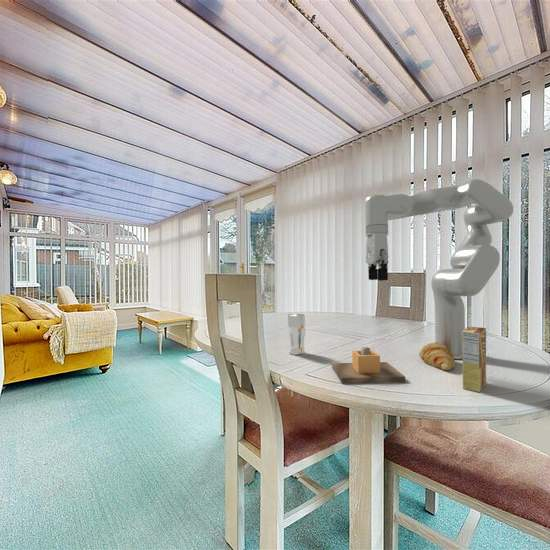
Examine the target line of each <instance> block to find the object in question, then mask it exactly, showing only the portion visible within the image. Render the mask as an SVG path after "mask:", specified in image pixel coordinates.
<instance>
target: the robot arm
mask: <svg viewBox="0 0 550 550" xmlns="http://www.w3.org/2000/svg"><path fill="white" fill-rule="evenodd" d="M364 202H365V203H364V205H365V207H364V211H365V214H364V215H365V219H364V220H365V236H366V244H365V263H366V264H367V265H368V266H367V268H368V270H367V271H368V280H369V281H374V280H375V281H376V280H377V281H379V282H380V281H388V280H389V272H388V271H389V270H388V268H389V265H388V264H389V246H388V236H389V221H393V220H399V219H405V218H410V217H416V216H423V215H428V214H434V213H440V212H444V211H451V210H457V209H462V208H465V207H467V208H466V209H465V211H464V213H463V221H464V224H465V227H466V235H465V237H464V238H463V240H462V241H461V243H460V244H459V246H458V247H457V248H456V250H455V251H454V252H453V254H452V256H451V258H450V266H451V268H446V269H441V270H438V271H436V272H435V273H434V274H433V276H432V277H431V289H432V293H433V299H434V331H435V332H434V334H435V335H434V341H435V342H436V343H439V344H442V345H444V346H446V347H448V348H449V349H450V351H451V353H452V355H453V358H454V360H463V336H462V331H464V330H465V329H466V327H465V325H466V320H465V317H466V316H465V314H466V313H465V311H466V310H465V304H464V301H463V298H462V297H473V296H476V295H478V294H479V293H480V292H481V291H482V290H483V289H484V288H485V286H486V285H487V284H488V282H489V281H490V279H492V278H491V277H492V276H493V275H494V274H495V272H496V270H497V269H498V267H499V265H500V260H501V256H500V253H499V252H500V251H498V250H499V249H497V248H496V247H495V246H493V245H491V244H492V239H493V238H492V234H491V232H490V229H489V227H488V225H491V224H498V223H502V222H506V220H509V219H510V218H511V217H512V215H513V214H514V204H513V203H512V201H511V200H510V199H509V198H508V197H507V196H506V195H504V194H503V193H502V192H500V191H499V190H498V189H496V188H495V187H494V186H493V185H491V184H489V183H488V182H487V181H485V180H482V179H479V178H473V179H470V180H467V181H465V182H463V183H459V184H454V185H450V186H444V187H437V188H436V187H435V188H430V189H427V190H424V191H420V192H417V193H415V194H413V195H408V194H405V193H399V194H396V193H395V194H392V195H391V194H390V195H383V194H374V195H373V194H372V195H369V196H368V197H366V198H365V201H364ZM377 267H378V268H377ZM435 342H434V343H435Z"/></svg>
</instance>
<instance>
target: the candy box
mask: <svg viewBox="0 0 550 550" xmlns="http://www.w3.org/2000/svg"><path fill="white" fill-rule="evenodd" d="M462 336H463V359H462V389H464V390H467V391H473V392H477V393H481V392H482V390H483V388H484V387H485V385H486V383H487V328H485V327H479V326H468V327H467V328H465V330H464V331H462Z"/></svg>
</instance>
